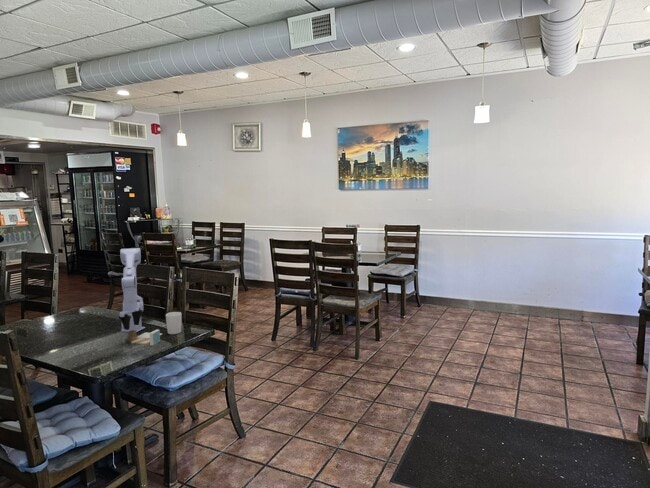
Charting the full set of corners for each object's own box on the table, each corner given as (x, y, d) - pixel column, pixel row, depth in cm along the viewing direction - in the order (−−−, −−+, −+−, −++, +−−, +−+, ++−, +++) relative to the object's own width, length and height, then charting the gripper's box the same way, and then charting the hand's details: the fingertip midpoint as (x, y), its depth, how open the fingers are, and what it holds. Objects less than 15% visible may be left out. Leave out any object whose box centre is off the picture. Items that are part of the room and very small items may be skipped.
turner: (126, 342, 210) (125, 333, 210) (133, 338, 216) (133, 329, 215) (145, 344, 208) (145, 334, 208) (152, 340, 214) (152, 330, 214)
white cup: (169, 335, 220) (168, 316, 219) (164, 332, 227) (163, 313, 225) (184, 332, 225) (183, 314, 224) (179, 329, 231) (178, 311, 230)
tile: (150, 345, 207) (149, 333, 206) (157, 341, 213) (156, 329, 212) (153, 345, 206) (152, 333, 206) (160, 341, 212) (159, 329, 212)
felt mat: (135, 338, 217) (135, 337, 217) (145, 333, 225) (145, 332, 225) (153, 339, 215) (153, 338, 215) (162, 334, 223) (162, 333, 223)
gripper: (128, 304, 203) (129, 332, 204) (146, 297, 217) (147, 323, 218) (114, 303, 204) (116, 331, 205) (133, 296, 218) (135, 322, 220)
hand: (131, 327), depth 212 cm, fingers open, 7 cm apart
